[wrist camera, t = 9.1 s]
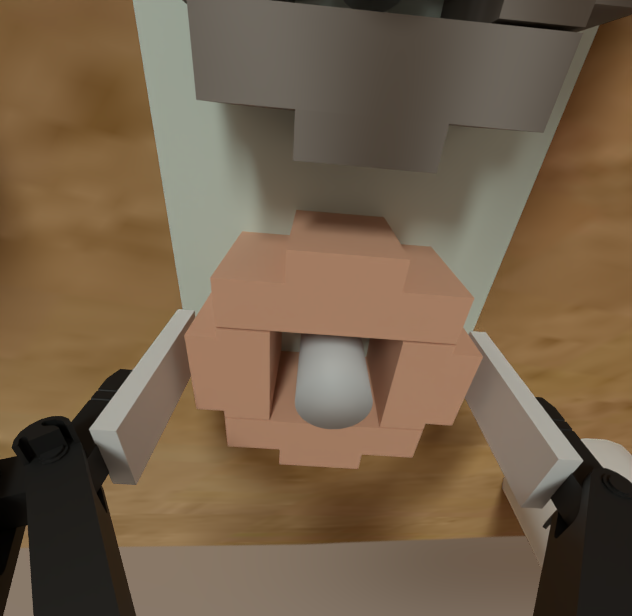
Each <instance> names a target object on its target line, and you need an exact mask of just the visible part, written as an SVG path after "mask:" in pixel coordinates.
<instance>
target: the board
mask: <svg viewBox="0 0 632 616" xmlns="http://www.w3.org/2000/svg"><path fill="white" fill-rule="evenodd" d="M295 3H301V4H311V5H320V6H330V7H339V8H349V9H358V10H368V11H377V12H387V13H396V14H406V15H415V16H425V17H434V18H440V17H441V12H442V8H443V3H444V0H295ZM133 4H134V10H135V17H136V23H137V29H138V35H139V41H140V48H141V54H142V60H143V66H144V72H145V79H146V85H147V91H148V97H149V103H150V109H151V116H152V122H153V128H154V134H155V140H156V147H157V153H158V159H159V165H160V171H161V178H162V184H163V190H164V196H165V202H166V208H167V215H168V221H169V227H170V233H171V239H172V246H173V252H174V258H175V264H176V270H177V277H178V283H179V289H180V295H181V301H182V307H183V310H195V317H196V316H197V314H198V313H199V311H200V309H201V308H202V306H203V305H204V303H205V301H206V300H207V298H208V297H209V295H210V293H211V292H212V291H211V281H210V277H211V276H212V274H213V273H214V271H215V270H216V268H217V267H218V266H219V264H220V263H221V261H222V260H223V258H224V257H225V255H226V254H227V252H228V251H229V250H230V248H231V247H232V245H233V244H234V242H235V241H236V239H237V238H238V236H239V235H240V234H241V232H242V231H245V232H257V233H269V234H282V235H290V232H291V229H292V225H293V221H294V217H295V213H296V210H304V211H316V212H328V213H340V214H352V215H364V216H376V217H384V218H385V219H386V221H387V223H388V224H389V226H390V227H391V229H392V231H393V232H394V234H395V236H396V237H397V239H398V240H399V242H400V244H405V245H417V246H430V247H432V248H433V249H434V251H435V252H436V253H437V254H438V255H439V257H440V258H441V259H442V260H443V261H444V262H445V264H446V265H447V266H448V267H449V268H450V270H451V271H452V272H453V273H454V274H455V276H456V277H457V278H458V279H459V280H460V281H461V283H462V284H463V285H464V286H465V287H466V289H467V290H468V291H469V292H470V293H471V295H472V296H473V297H474V301H473V303H472V306H471V308H470V311H469V313H468V316H467V319H466V321H465V324H464V326H463V328H464V329H465V331H466V332H467V334H468V335H469V332H470V331H473V329H474V327H475V324H476V322H477V320H478V317H479V315H480V312H481V310H482V308H483V305H484V303H485V300H486V298H487V295H488V293H489V291H490V288H491V286H492V283H493V281H494V279H495V276H496V274H497V271H498V269H499V266H500V264H501V262H502V259H503V257H504V254H505V252H506V250H507V247H508V245H509V242H510V240H511V237H512V235H513V233H514V230H515V228H516V225H517V223H518V221H519V218H520V216H521V213H522V211H523V208H524V206H525V204H526V201H527V199H528V196H529V194H530V192H531V189H532V187H533V184H534V182H535V180H536V177H537V175H538V172H539V170H540V167H541V165H542V163H543V160H544V158H545V155H546V153H547V151H548V148H549V146H550V143H551V141H552V138H553V136H554V134H555V131H556V129H557V126H558V124H559V122H560V119H561V117H562V114H563V112H564V109H565V107H566V105H567V102H568V100H569V97H570V95H571V93H572V90H573V88H574V85H575V83H576V80H577V78H578V76H579V73H580V71H581V68H582V66H583V64H584V61H585V59H586V56H587V54H588V51H589V49H590V47H591V44H592V42H593V39H594V37H595V35H596V32H597V30H598V27H599V25H598V26H595V27H592V28H589V29H586V30H583V31H580V32H577V33H583V35H582V37H581V40H580V42H579V45H578V47H577V50H576V52H575V55H574V57H573V60H572V62H571V65H570V67H569V70H568V73H567V75H566V78H565V80H564V83H563V85H562V88H561V90H560V93H559V95H558V98H557V100H556V103H555V105H554V108H553V110H552V113H551V115H550V118H549V120H548V123H547V125H546V128H545V130H544V133H540V132H527V131H513V130H500V129H486V128H473V127H461V126H451V125H449V127H448V131H447V135H446V139H445V143H444V146H443V150H442V154H441V158H440V162H439V166H438V170H437V173H425V172H414V171H403V170H392V169H381V168H370V167H359V166H348V165H337V164H326V163H314V162H303V161H293V149H294V123H295V111H292V110H282V109H271V108H261V107H250V106H240V105H232V104H225V103H217V102H209V101H202V100H196V92H195V81H194V71H193V61H192V50H191V40H190V30H189V19H188V9H187V4H186V3H185V2H184V1H182V0H133ZM369 340H370V338H362V337H349V336H335V335H321V334H307V333H293V332H282V347H281V351H291V352H299V361H298V372H297V383H296V393H295V408H296V410H297V412H298V414H299V415H300V417H301V418H302V419H304V420H305V421H306V422H308V423H309V424H311V425H314V426H316V427H319V428H324V429H343V428H347V427H350V426H353V425H355V424H357V423H359V422H361V421H362V420H363V419H365V418H366V417H367V415H368V414H369V413H370V411H371V408H372V405H373V398H372V393H371V387H370V382H369V376H368V371H367V365H366V360H365V357H367V356H366V355H367V350H368V345H369Z"/></svg>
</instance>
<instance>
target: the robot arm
mask: <svg viewBox="0 0 632 616" xmlns="http://www.w3.org/2000/svg"><path fill="white" fill-rule="evenodd" d="M194 319H195V310H182V309H178V310H177V311H176V313H175V314H174V315H173V317H172V318H171V319H170V321H169V322H168V323H167V325H166V326H165V327H164V329H163V330H162V332H161V333H160V334H159V336H158V337H157V338H156V340H155V341H154V342H153V344H152V345H151V346H150V348H149V349H148V350H147V352H146V353H145V354H144V356H143V357H142V358H141V360H140V361H139V363H138V364H137V365H136V367H135V368H134V369H133V370H126V369H120V370H118V371H117V372H115V373H114V374H113V375H111V376H110V377H108V378H107V379H106V380H105V381H104V383H103V384H102V385H101V386H100V388H99V389H98V391H96V393H95V394H94V395H93V396H92V397H91V400H89V401H88V402H87V404H86V405H85V406H84V407H83V408H82V410H81V411H80V412H79V413H78V415H77V416H76V417H75V418H74V419H73V421H72V422H70V420H69V419H68V418H65V417H63V416H52V417H48V418H44V419H41V420H39V421H37V422H35V423H33V424H30V425H29V426H28V427H26V428H25V429H24V430H22V431H21V432H20V433H19V434H18V436H17V437H16V438H15V439H14V441H13V445H12V449H13V450H14V452H15V453H16V455H17V456H16V457H11V458H6V459H1V460H0V616H3V613H4V610H5V606H6V602H7V598H8V594H9V590H10V586H11V582H12V578H13V574H14V570H15V566H16V562H17V558H18V555H19V550H20V547H21V543H22V539H23V535H24V531H25V527H26V525H28V536H29V551H30V566H31V583H32V598H33V613H34V616H136V614H135V610H134V606H133V602H132V598H131V594H130V591H129V587H128V583H127V579H126V575H125V571H124V567H123V563H122V559H121V556H120V552H119V548H118V544H117V540H116V536H115V532H114V528H113V524H112V521H111V517H110V513H109V509H108V505H107V501H106V497H105V493H104V490H103V488H102V484H103V482H104V480H105V479H106V477H107V475H108V474H109V476H110V478H111V480H112V482H113V483H114V484H131V485H136V484H137V482H138V480H139V478H140V476H141V474H142V472H143V470H144V468H145V466H146V464H147V462H148V460H149V458H150V457H151V455H152V453H153V451H154V449H155V447H156V445H157V443H158V441H159V439H160V437H161V435H162V433H163V431H164V429H165V427H166V425H167V423H168V421H169V419H170V417H171V415H172V413H173V411H174V409H175V407H176V405H177V403H178V401H179V399H180V397H181V395H182V393H183V391H184V389H185V387H186V385H187V383H188V381H189V379H190V377H191V373H190V367H189V361H188V355H187V349H186V343H185V337H184V335H185V333H186V332H187V330H188V329H189V327H190V325H191V324H192V322H193V321H194ZM469 337H470V338H471V339H472V341H473V342H474V344H475V345H476V347H477V348H478V350H479V351H480V353H481V354H482V356H483V358H482V361H481V363H480V365H479V367H478V369H477V371H476V374H475V376H474V378H473V380H472V382H471V385H470V387H469V389H468V391H467V393H466V396H465V399H466V401H467V403H468V405H469V407H470V409H471V411H472V413H473V415H474V417H475V419H476V421H477V423H478V425H479V427H480V429H481V431H482V433H483V435H484V436H485V438H486V440H487V442H488V444H489V446H490V448H491V450H492V452H493V454H494V456H495V458H496V460H497V462H498V464H499V466H500V468H501V470H502V472H503V474H504V476H505V478H506V480H507V482H508V484H509V486H510V487H511V489H512V491H513V493H514V495H515V497H516V499H517V501H518V503H519V505H520V507H522V508H539V509H542V508H543V507H544V506H545V505H546V504H547V503H548V501H549V500H550V499H551V500H552V502H553V504H554V505H555V507H556V509H557V510H556V511H555V512H554V513H553V514H552V515H551V516H550V517H549V518H548V520H547V521H546V522H545V523H544V525H543V526H542V527H543V528H545V529H547V528H548V526H549V525H551V526H550V531H549V536H548V541H547V546H546V552H545V557H544V562H543V567H542V573H541V577H540V582H539V588H538V593H537V598H536V603H535V608H534V613H533V616H632V483H631V482H630V481H629V480H628V479H626V478H625V477H623V476H622V475H620V474H619V473H617V472H615V471H612V470H610V469H607V468H603V467H602V466H601V464H600V463H599V462H598V461H597V459H596V458H595V457H594V456H593V454H592V453H591V452H590V451H589V449H588V448H587V447H586V446H585V444H584V443H583V442H582V441H581V439H580V438H579V437H578V436H577V434H576V433H575V432H574V431H572V428H571V427H570V426H569V425H568V423H567V422H565V421H564V418H563V417H562V416H561V415H560V413H559V412H558V411H557V410H556V408H555V407H553V406H552V405H551V404H550V403H548V402H547V401H546V400H545V399H543V398H541V397H534V395H533V394H532V393H531V391H530V390H529V389H528V387H527V386H526V385H525V383H524V382H523V381H522V379H521V378H520V377H519V376H518V374H517V373H516V372H515V370H514V369H513V368H512V366H511V365H510V364H509V362H508V361H507V360H506V358H505V357H504V356H503V354H502V353H501V352H500V351H499V349H498V348H497V347H496V345H495V344H494V343H493V341H492V340H491V339H490V337H489V336H488V335H487V333H486V332H474V331H470V332H469Z"/></svg>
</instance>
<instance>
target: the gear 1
mask: <svg viewBox="0 0 632 616" xmlns="http://www.w3.org/2000/svg"><path fill="white" fill-rule="evenodd" d="M182 1H184V2H185V3H186V4H187V9H188V19H189V30H190V40H191V50H192V61H193V71H194V81H195V92H196V100H202V101H209V102H217V103H225V104H232V105H240V106H250V107H261V108H271V109H282V110H292V111H295V123H294V149H293V161H303V162H314V163H326V164H337V165H348V166H359V167H370V168H381V169H392V170H403V171H414V172H425V173H437V170H438V166H439V162H440V158H441V154H442V150H443V146H444V143H445V139H446V135H447V131H448V127H449V125H451V126H461V127H473V128H486V129H500V130H513V131H527V132H540V133H544V130H545V128H546V125H547V123H548V120H549V118H550V115H551V113H552V110H553V108H554V105H555V103H556V100H557V98H558V95H559V93H560V90H561V88H562V85H563V83H564V80H565V78H566V75H567V73H568V70H569V67H570V65H571V62H572V60H573V57H574V55H575V52H576V50H577V47H578V45H579V42H580V40H581V37H582V35H583V33H577V32H580V31H583V30H586V29H589V28H592V27H595V26H598V25H601V24H604V23H607V22H610V21H613V20H616V19H619V18H622V17H625V16H628V15H631V14H632V0H444V3H443V8H442V12H441V17H440V18H434V17H425V16H415V15H406V14H396V13H387V12H377V11H368V10H358V9H349V8H339V7H330V6H320V5H311V4H301V3H295V0H182Z"/></svg>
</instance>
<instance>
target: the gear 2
mask: <svg viewBox="0 0 632 616" xmlns="http://www.w3.org/2000/svg"><path fill="white" fill-rule="evenodd" d="M210 281H211V291H212V292H211V293H210V295H209V297H208V298H207V300H206V301H205V303H204V305H203V306H202V308H201V309H200V311H199V313H198V314H197V316H196V317H195V319H194V321H193V322H192V324H191V325H190V327H189V329H188V330H187V332H186V333H185V335H184V337H185V343H186V349H187V355H188V361H189V367H190V373H191V379H192V385H193V390H194V396H195V402H196V408H197V409H206V410H221V411H224V415H225V424H226V434H227V443H228V446H233V447H249V448H265V449H280V456H279V464H285V465H301V466H318V467H334V468H351V469H358V467H359V463H360V459H361V455H362V454H363V455H379V456H395V457H411V458H412V457H413V455H414V452H415V450H416V447H417V444H418V442H419V439H420V437H421V434H422V432H423V429H424V427H425V424H437V425H452V424H453V422H454V420H455V418H456V415H457V413H458V411H459V409H460V407H461V404H462V402H463V400H464V398H465V396H466V393H467V391H468V389H469V387H470V385H471V382H472V380H473V378H474V376H475V374H476V371H477V369H478V367H479V365H480V363H481V361H482V358H483V356H482V354H481V353H480V351H479V350H478V348H477V347H476V345H475V344H474V342H473V341H472V339H471V338H470V337H469V335H468V334H467V332H466V331H465V329H464V328H463V326H464V324H465V321H466V319H467V316H468V313H469V311H470V308H471V306H472V303H473V301H474V297H473V296H472V295H471V293H470V292H469V291H468V290H467V289H466V287H465V286H464V285H463V284H462V283H461V281H460V280H459V279H458V278H457V277H456V276H455V274H454V273H453V272H452V271H451V270H450V268H449V267H448V266H447V265H446V264H445V262H444V261H443V260H442V259H441V258H440V257H439V255H438V254H437V253H436V252H435V251H434V249H433V248H432V247H430V246H417V245H405V244H400V242H399V240H398V239H397V237H396V236H395V234H394V232H393V231H392V229H391V227H390V226H389V224H388V223H387V221H386V219H385V218H384V217H376V216H364V215H352V214H340V213H328V212H316V211H304V210H296V213H295V217H294V221H293V225H292V229H291V232H290V235H282V234H269V233H257V232H245V231H242V232H241V234H240V235H239V236H238V238H237V239H236V241H235V242H234V244H233V245H232V247H231V248H230V250H229V251H228V252H227V254H226V255H225V257H224V258H223V260H222V261H221V263H220V264H219V266H218V267H217V268H216V270H215V271H214V273H213V274H212V276H211V277H210ZM282 332H293V333H307V334H321V335H335V336H349V337H362V338H370V340H369V345H368V350H367V355H366V356H367V357H365V360H366V365H367V371H368V376H369V382H370V387H371V393H372V398H373V405H372V408H371V411H370V413H369V414H368V415H367V417H366V418H365V419H363V420H362V421H361V422H359V423H357V424H355V425H353V426H350V427H347V428H343V429H324V428H319V427H316V426H314V425H311V424H309V423H308V422H306V421H305V420H304V419H302V418H301V417H300V415H299V414H298V412H297V410H296V408H295V393H296V383H297V372H298V361H299V352H291V351H281V347H282Z"/></svg>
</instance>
